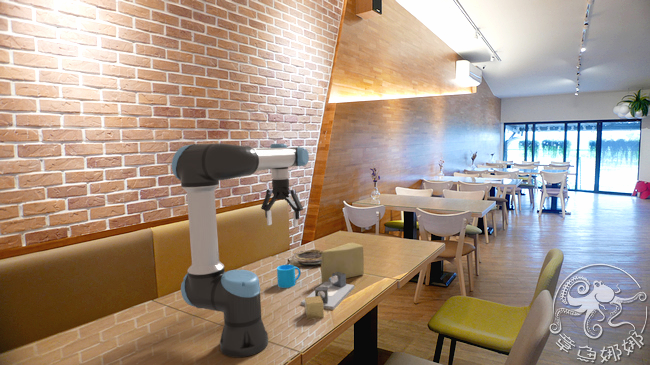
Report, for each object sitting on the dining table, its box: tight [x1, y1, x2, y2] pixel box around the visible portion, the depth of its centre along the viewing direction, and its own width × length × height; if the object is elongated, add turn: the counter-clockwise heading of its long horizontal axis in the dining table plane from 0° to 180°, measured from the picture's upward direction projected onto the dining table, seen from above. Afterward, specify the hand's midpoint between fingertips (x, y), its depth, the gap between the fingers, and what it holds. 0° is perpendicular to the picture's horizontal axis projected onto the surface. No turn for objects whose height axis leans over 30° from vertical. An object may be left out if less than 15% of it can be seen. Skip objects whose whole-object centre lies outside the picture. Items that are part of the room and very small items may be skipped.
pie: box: [288, 248, 324, 267], centre depth 206 cm, size 28×27×5 cm
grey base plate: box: [300, 281, 355, 311], centre depth 158 cm, size 24×14×1 cm, turn 156°
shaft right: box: [329, 272, 347, 288], centre depth 165 cm, size 7×5×5 cm
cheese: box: [320, 242, 365, 284], centre depth 179 cm, size 22×10×15 cm, turn 127°
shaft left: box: [314, 284, 328, 303], centre depth 151 cm, size 7×5×5 cm
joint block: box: [304, 296, 325, 320], centre depth 140 cm, size 6×6×6 cm
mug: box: [276, 264, 302, 289], centre depth 174 cm, size 12×8×8 cm
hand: (282, 225), depth 168 cm, fingers open, 13 cm apart
